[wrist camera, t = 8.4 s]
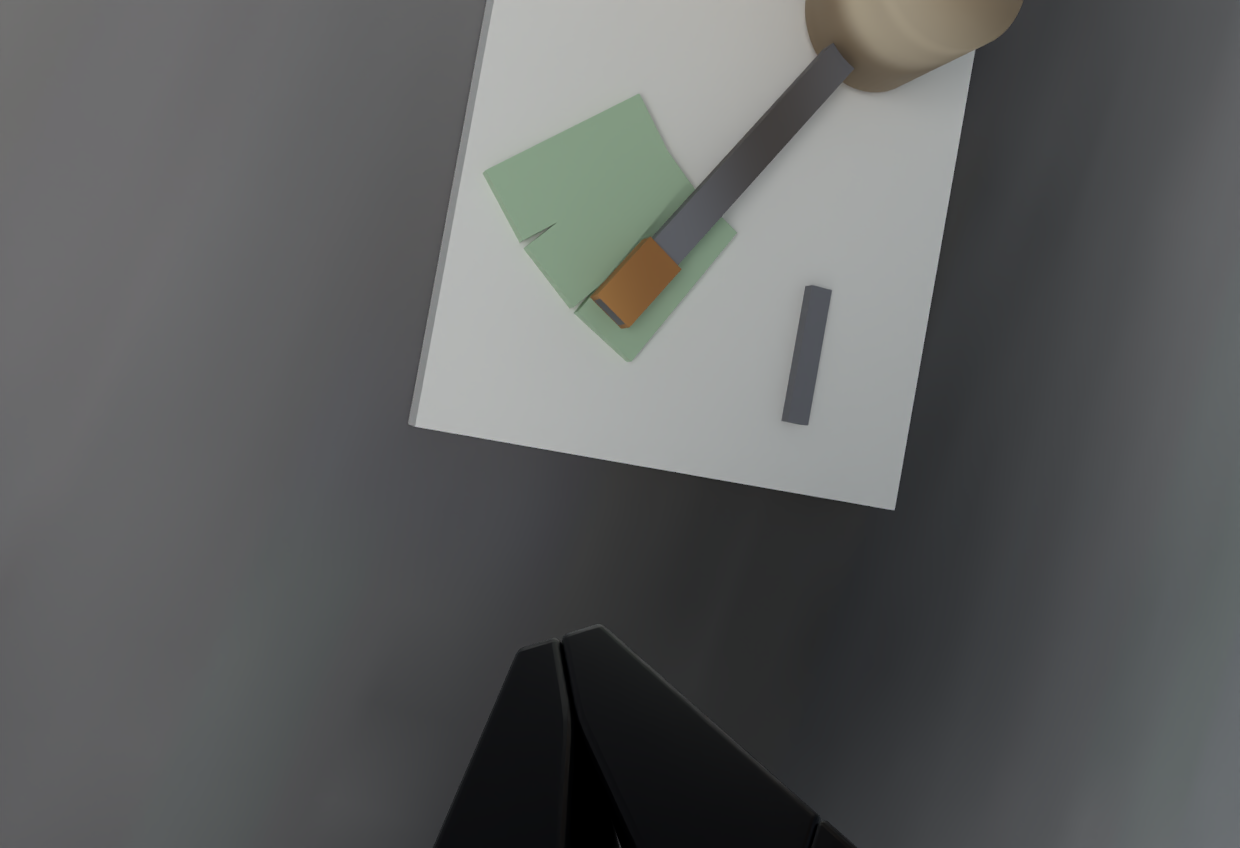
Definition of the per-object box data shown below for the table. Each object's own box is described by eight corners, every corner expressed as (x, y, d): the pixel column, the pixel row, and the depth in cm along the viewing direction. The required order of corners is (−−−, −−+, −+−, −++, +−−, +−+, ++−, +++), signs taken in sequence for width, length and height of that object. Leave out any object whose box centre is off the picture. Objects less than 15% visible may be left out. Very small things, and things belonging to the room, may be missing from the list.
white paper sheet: (865, 504, 24) (902, 512, 22) (407, 424, 20) (416, 427, 19) (958, -23, 24) (1000, -49, 22) (522, -193, 20) (540, -236, 19)
